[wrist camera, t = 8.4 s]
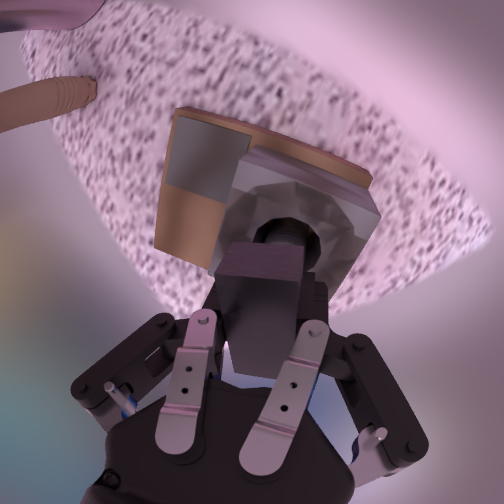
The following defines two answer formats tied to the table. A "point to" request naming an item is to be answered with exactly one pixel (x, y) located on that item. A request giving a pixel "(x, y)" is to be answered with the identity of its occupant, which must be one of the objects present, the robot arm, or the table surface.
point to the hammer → (263, 297)
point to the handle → (44, 100)
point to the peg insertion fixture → (258, 195)
